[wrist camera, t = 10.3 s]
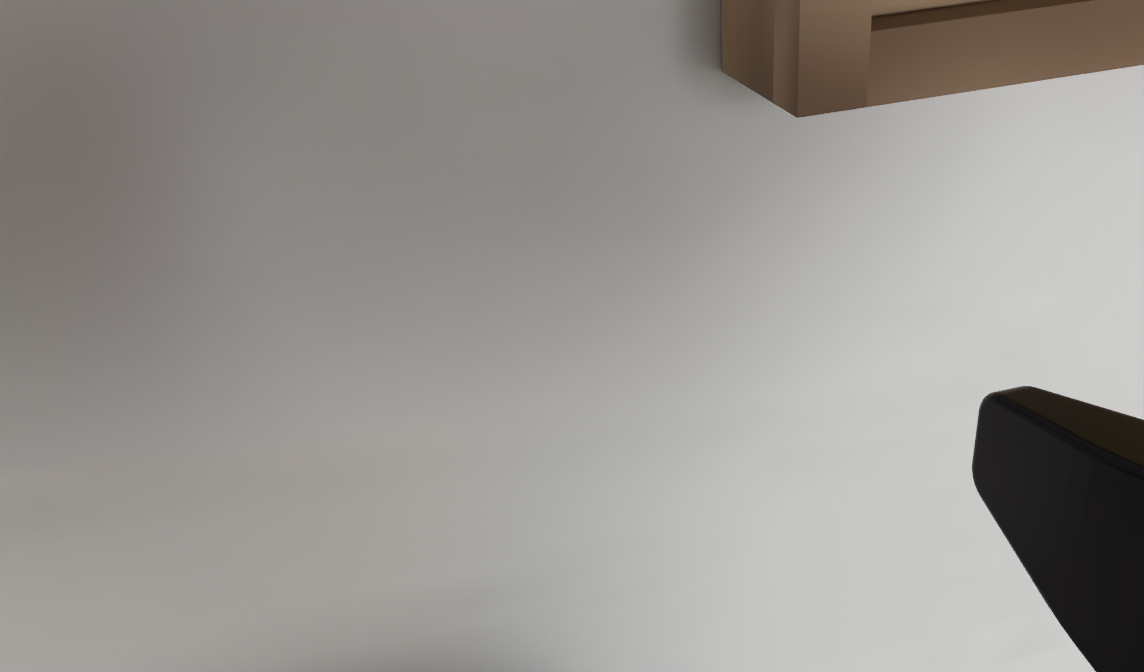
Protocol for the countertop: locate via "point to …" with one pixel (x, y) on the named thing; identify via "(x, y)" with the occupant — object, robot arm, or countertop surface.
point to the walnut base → (918, 47)
